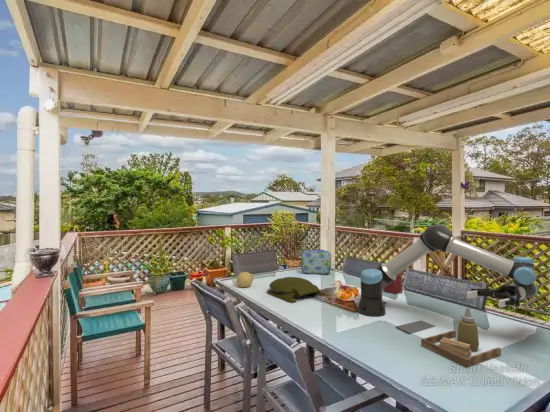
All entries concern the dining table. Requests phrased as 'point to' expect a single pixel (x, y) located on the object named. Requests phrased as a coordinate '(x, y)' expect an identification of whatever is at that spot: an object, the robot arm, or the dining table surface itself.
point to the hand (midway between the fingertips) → (482, 299)
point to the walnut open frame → (454, 357)
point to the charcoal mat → (414, 327)
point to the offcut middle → (457, 352)
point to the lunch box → (316, 262)
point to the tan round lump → (244, 279)
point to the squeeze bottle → (468, 331)
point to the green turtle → (293, 288)
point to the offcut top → (455, 345)
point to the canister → (395, 285)
